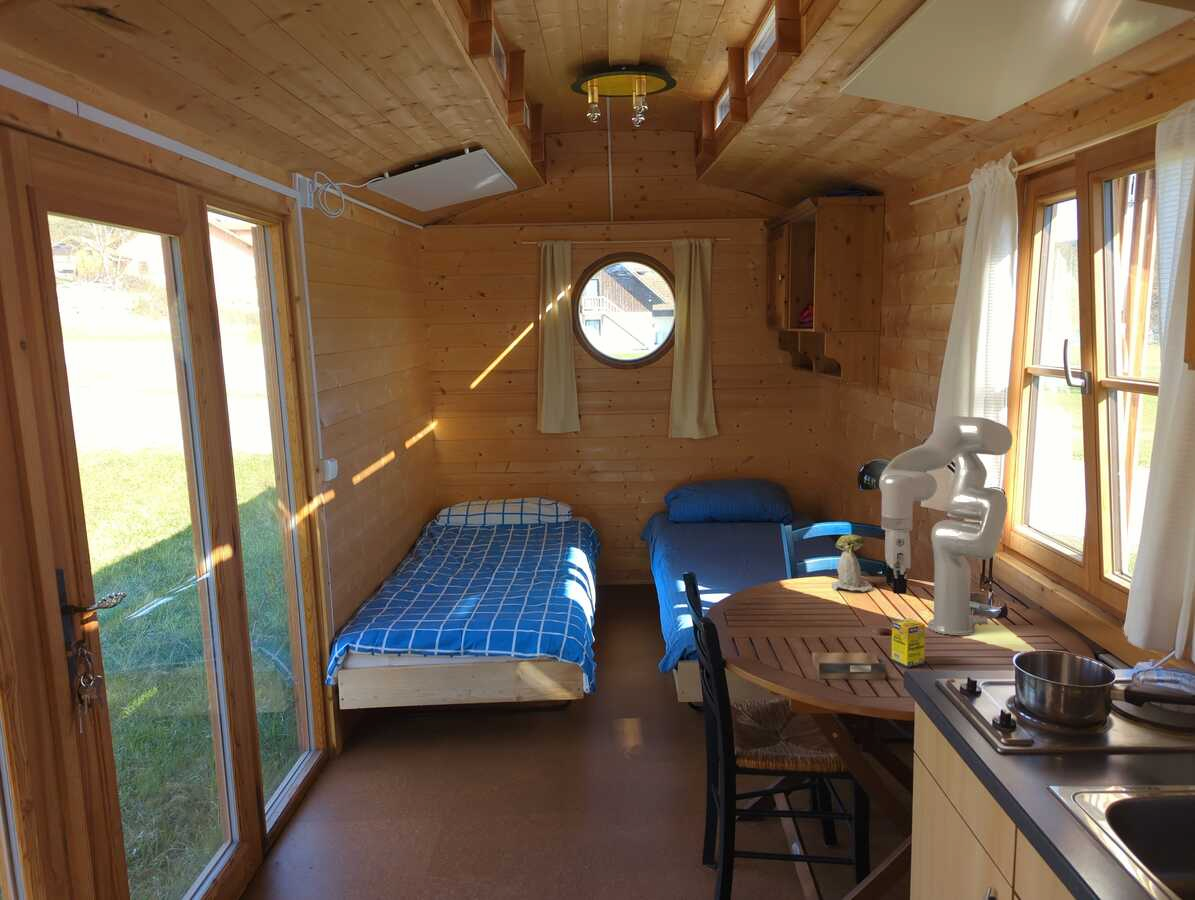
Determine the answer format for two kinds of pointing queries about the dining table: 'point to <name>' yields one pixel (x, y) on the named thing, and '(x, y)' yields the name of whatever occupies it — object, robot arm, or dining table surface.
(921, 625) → the supplement box
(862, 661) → the flat box
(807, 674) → the dining table surface
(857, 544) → the clay mushroom sculpture
